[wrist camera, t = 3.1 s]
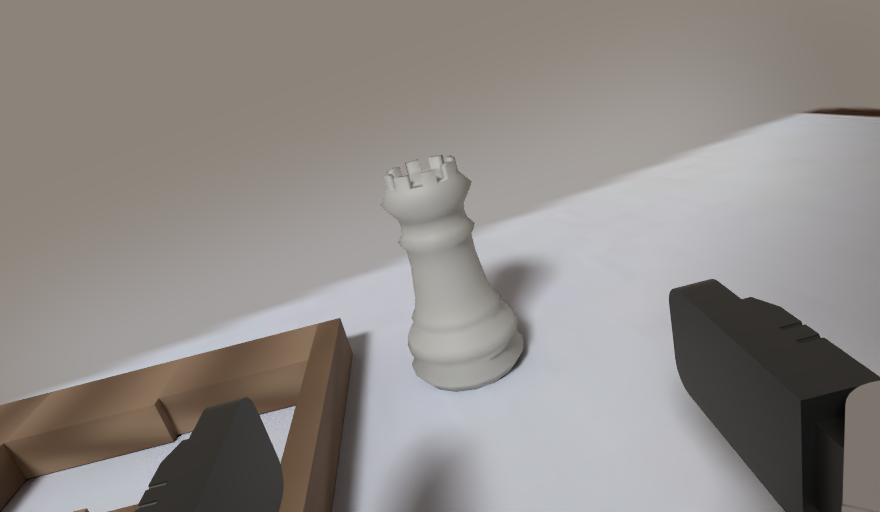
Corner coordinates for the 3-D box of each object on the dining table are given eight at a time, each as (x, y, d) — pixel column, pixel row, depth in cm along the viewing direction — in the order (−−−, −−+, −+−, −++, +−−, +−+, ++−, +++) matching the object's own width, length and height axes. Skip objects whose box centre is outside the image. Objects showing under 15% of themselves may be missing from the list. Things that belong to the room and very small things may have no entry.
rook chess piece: (462, 324, 26) (416, 149, 23) (548, 342, 23) (508, 143, 20) (392, 380, 23) (330, 189, 20) (480, 409, 20) (422, 189, 17)
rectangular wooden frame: (352, 352, 26) (340, 317, 25) (320, 597, 15) (296, 545, 14) (7, 441, 26) (-14, 408, 25) (-283, 745, 15) (-333, 702, 14)
